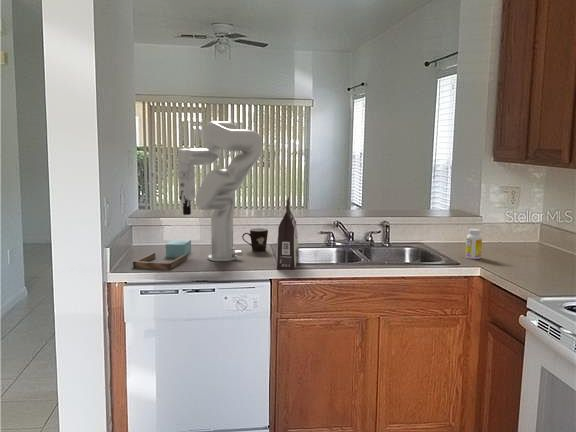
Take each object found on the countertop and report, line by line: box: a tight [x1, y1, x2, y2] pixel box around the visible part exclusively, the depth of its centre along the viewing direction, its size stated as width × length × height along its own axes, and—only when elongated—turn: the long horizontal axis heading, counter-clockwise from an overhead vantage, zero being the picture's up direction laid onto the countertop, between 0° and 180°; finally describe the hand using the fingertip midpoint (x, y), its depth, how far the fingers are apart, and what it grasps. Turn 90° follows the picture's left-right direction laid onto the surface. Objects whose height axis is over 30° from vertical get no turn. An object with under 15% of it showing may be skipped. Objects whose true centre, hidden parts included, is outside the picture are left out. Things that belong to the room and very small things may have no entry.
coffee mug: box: [241, 227, 269, 253], centre depth 247 cm, size 12×9×10 cm
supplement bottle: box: [465, 228, 483, 260], centre depth 234 cm, size 7×7×13 cm
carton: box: [165, 238, 192, 258], centre depth 238 cm, size 8×12×6 cm
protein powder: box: [275, 196, 299, 270], centre depth 218 cm, size 16×9×28 cm, turn 177°
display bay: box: [132, 252, 188, 271], centre depth 219 cm, size 16×18×2 cm
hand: (187, 214), depth 247 cm, fingers closed
